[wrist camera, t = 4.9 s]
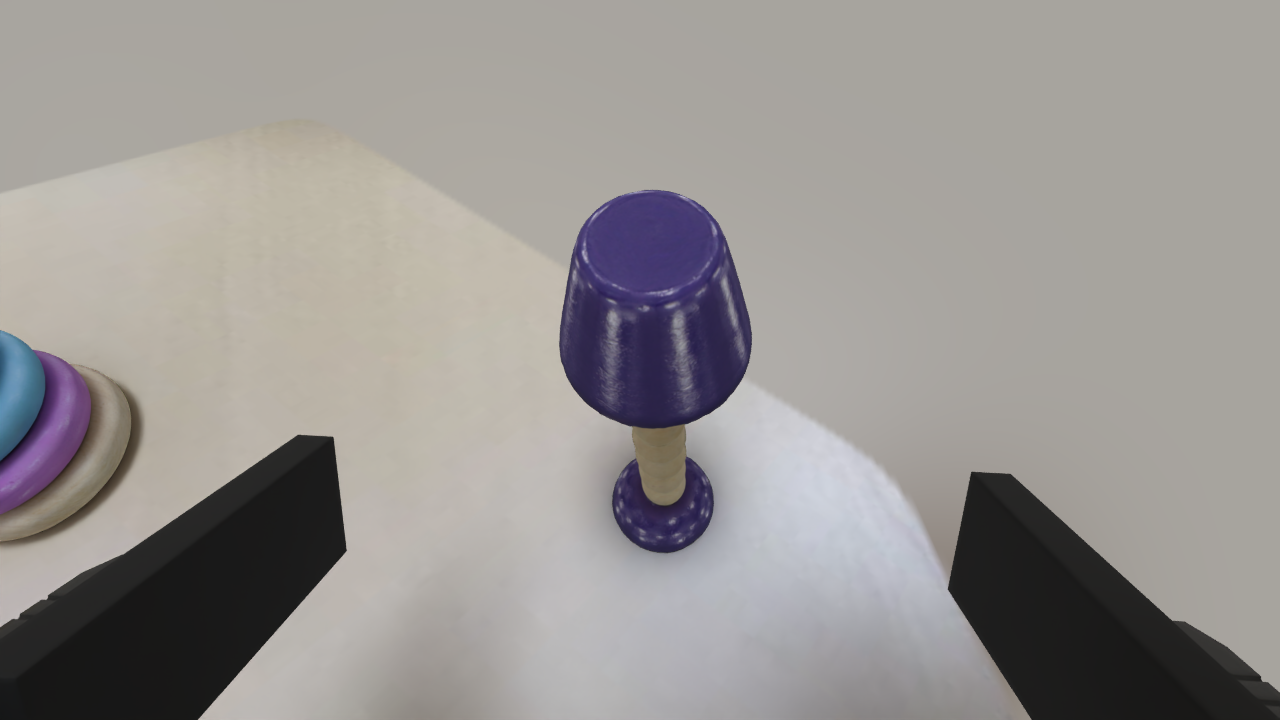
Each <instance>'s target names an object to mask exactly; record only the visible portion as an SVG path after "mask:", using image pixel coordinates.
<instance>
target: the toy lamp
mask: <svg viewBox="0 0 1280 720" xmlns="http://www.w3.org/2000/svg"><path fill="white" fill-rule="evenodd" d="M751 345H752V332H751V326H750V319H749V315H748V311H747V308H746V304H745V301H744V297H743V293H742V290H741V286H740V282H739V279H738V276H737V272H736V269H735V265H734V262H733V259H732V257H731V253H730V250H729V247H728V244H727V241H726V238H725V236H724V234H723V232H722V230H721V228H720V226H719V224H718V222H717V221H716V220H715V219H714V218H713V217H712V215H711V214H709V212H708V211H707V210H706V209H705V208H704V207H702V206H701V205H699V204H698V203H697V202H695V201H693V200H691V199H689V198H687V197H685V196H682V195H680V194H677V193H673V192H669V191H661V190H644V191H637V192H632V193H628V194H625V195H622V196H618V197H616V198H614V199H612V200H611V201H609V202H607V203H605V204H603V205H602V206H601V207H600V208H598V209H597V210H596V211H595V212H594V213H593V214H592V215H591V216H590V217H589V218H588V219H587V221H586V222H585V224H584V225H583V227H582V228H581V230H580V232H579V235H578V237H577V241H576V244H575V247H574V249H573V254H572V258H571V265H570V271H569V276H568V281H567V287H566V294H565V300H564V305H563V311H562V319H561V325H560V342H559V347H560V357H561V362H562V364H563V366H564V370H565V373H566V376H567V378H568V380H569V382H570V383H571V385H572V387H573V388H574V390H575V391H576V392H577V393H578V395H579V396H580V397H581V398H582V399H583V400H584V401H585V402H586V403H587V404H588V405H589V406H590V407H592V408H593V409H595V410H596V411H598V412H599V413H600V414H601V415H604V416H606V417H607V418H609V419H612V420H615V421H617V422H619V423H622V424H625V425H628V426H632V428H633V429H632V437H633V442H634V445H635V448H636V449H635V452H636V459H634V460H633V461H631V462H630V463H629V464H628V465H627V466H626V467H625V469H624V470H623V471H622V472H621V474H620V476H619V478H618V480H617V482H616V484H615V488H614V492H613V501H612V506H613V512H614V516H615V519H616V521H617V523H618V525H619V527H620V528H621V530H622V532H623V533H624V534H625V535H626V536H627V537H628V538H629V539H630V540H631V541H632V542H634V543H635V544H637V545H638V546H640V547H642V548H644V549H646V550H649V551H655V552H666V553H668V552H674V551H677V550H680V549H683V548H684V547H686V546H688V545H690V544H692V543H693V542H694V541H695V540H696V539H697V538H699V537H700V536H701V535H702V534H703V532H704V531H705V529H706V528H707V526H708V525H709V522H710V520H711V517H712V513H713V506H714V501H713V492H712V487H711V485H710V482H709V480H708V478H707V476H706V475H705V473H704V471H703V470H702V469H701V468H700V467H699V466H698V465H697V464H696V463H695V462H694V461H693V460H692V459H690V458H688V457H687V456H686V447H685V441H686V431H685V426H684V425H685V424H689V423H691V422H693V421H696V420H698V419H700V418H701V417H703V416H705V415H707V414H709V413H711V412H712V411H714V410H715V409H717V408H718V407H720V406H721V405H722V404H723V403H724V402H725V401H726V400H727V399H728V397H729V396H730V395H731V394H732V393H733V392H734V391H735V389H736V388H737V386H738V385H739V383H740V382H741V380H742V378H743V376H744V374H745V372H746V369H747V366H748V363H749V359H750V354H751Z"/></svg>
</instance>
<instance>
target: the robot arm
mask: <svg viewBox="0 0 1280 720" xmlns="http://www.w3.org/2000/svg"><path fill="white" fill-rule="evenodd" d="M346 551H347V550H346V541H345V532H344V524H343V515H342V506H341V498H340V489H339V481H338V472H337V463H336V455H335V446H334V438H333V437H327V436H309V435H297V436H296V437H294V438H293V439H291V440H290V441H288V442H287V443H286V444H284V445H283V446H281V447H280V448H278V449H277V450H275V451H274V452H272V453H271V454H269V455H268V456H267V457H265V458H264V459H262V460H261V461H259V462H258V463H256V464H255V465H253V466H252V467H251V468H249V469H248V470H246V471H245V472H243V473H242V474H240V475H239V476H237V477H236V478H234V479H233V480H232V481H230V482H229V483H227V484H226V485H224V486H223V487H221V488H220V489H218V490H217V491H216V492H214V493H213V494H211V495H210V496H208V497H207V498H205V499H204V500H202V501H201V502H199V503H198V504H197V505H195V506H194V507H192V508H191V509H189V510H188V511H186V512H185V513H183V514H182V515H180V516H179V517H178V518H176V519H175V520H173V521H172V522H170V523H169V524H167V525H166V526H164V527H163V528H162V529H160V530H159V531H157V532H156V533H154V534H153V535H151V536H150V537H148V538H147V539H145V540H144V541H143V542H141V543H140V544H138V545H137V546H135V547H134V548H132V549H131V550H129V551H128V552H126V553H125V554H124V555H120V556H118V557H116V558H114V559H111V560H109V561H107V562H105V563H103V564H100V565H98V566H96V567H94V568H91V569H89V570H87V571H85V572H83V573H81V574H79V575H78V576H76V577H75V578H73V579H72V580H70V581H69V582H67V583H66V584H64V585H63V586H61V587H60V588H58V589H57V590H55V591H54V592H52V593H51V594H49V595H48V599H47V600H40V601H39V602H37V603H36V604H34V605H33V606H31V607H30V608H28V609H27V610H25V611H24V612H22V613H21V614H20V617H19V618H18V619H12V620H10V621H9V622H7V623H6V624H5V625H3V626H2V627H0V720H198V719H199V718H200V717H201V716H202V714H203V713H204V712H205V711H206V710H207V709H208V708H209V706H210V705H211V704H212V703H213V702H214V701H215V700H216V699H217V697H218V696H219V695H220V694H221V693H222V692H223V691H224V689H225V688H226V687H227V686H228V685H229V684H230V683H231V682H232V680H233V679H234V678H235V677H236V676H237V675H238V674H239V672H240V671H241V670H242V669H243V668H244V667H245V666H246V665H247V663H248V662H249V661H250V660H251V659H252V658H253V657H254V655H255V654H256V653H257V652H258V651H259V650H260V649H261V647H262V646H263V645H264V644H265V643H266V642H267V641H268V640H269V638H270V637H271V636H272V635H273V634H274V633H275V632H276V630H277V629H278V628H279V627H280V626H281V625H282V624H283V623H284V621H285V620H286V619H287V618H288V617H289V616H290V615H291V613H292V612H293V611H294V610H295V609H296V608H297V607H298V606H299V604H300V603H301V602H302V601H303V600H304V599H305V598H306V596H307V595H308V594H309V593H310V592H311V591H312V590H313V589H314V587H315V586H316V585H317V584H318V583H319V582H320V581H321V579H322V578H323V577H324V576H325V575H326V574H327V573H328V572H329V570H330V569H331V568H332V567H333V566H334V565H335V564H336V562H337V561H338V560H339V559H340V558H341V557H342V556H343V555H344V553H345V552H346ZM948 590H949V592H950V593H951V595H952V597H953V598H954V600H955V601H956V603H957V604H958V606H959V607H960V609H961V611H962V612H963V614H964V615H965V617H966V618H967V620H968V621H969V623H970V625H971V626H972V628H973V629H974V631H975V632H976V634H977V635H978V637H979V639H980V640H981V642H982V643H983V645H984V646H985V648H986V649H987V651H988V652H989V654H990V656H991V657H992V659H993V660H994V662H995V663H996V665H997V666H998V668H999V670H1000V671H1001V673H1002V674H1003V676H1004V677H1005V679H1006V680H1007V682H1008V684H1009V685H1010V687H1011V688H1012V689H1013V691H1014V693H1015V694H1016V696H1017V697H1018V699H1019V701H1020V702H1021V704H1022V705H1023V707H1024V708H1025V710H1026V711H1027V713H1028V715H1029V716H1030V718H1031V719H1032V720H1280V692H1278V691H1277V690H1276V689H1275V688H1274V687H1273V686H1271V685H1270V684H1269V683H1268V682H1262V680H1261V676H1260V675H1259V674H1258V673H1256V672H1255V671H1254V670H1253V669H1252V668H1251V667H1250V666H1248V665H1247V664H1246V663H1245V662H1243V660H1241V659H1240V658H1239V657H1238V656H1237V655H1236V654H1235V653H1233V652H1232V651H1231V650H1230V649H1229V648H1228V647H1226V646H1224V645H1223V644H1221V643H1219V642H1217V641H1216V640H1214V639H1213V638H1211V637H1209V636H1208V635H1206V634H1204V633H1203V632H1201V631H1199V630H1197V629H1196V628H1194V627H1193V626H1191V625H1189V624H1188V623H1186V622H1181V621H1172V620H1171V619H1169V618H1168V617H1167V616H1166V615H1165V614H1164V613H1163V612H1162V611H1161V610H1160V609H1159V608H1157V607H1156V606H1155V605H1154V604H1153V603H1152V602H1151V601H1150V600H1149V599H1148V598H1146V597H1145V596H1144V595H1143V594H1142V593H1141V592H1140V591H1139V590H1137V588H1135V587H1134V586H1133V585H1132V584H1131V583H1130V582H1129V581H1128V580H1127V579H1126V578H1124V577H1123V576H1122V575H1121V574H1120V573H1119V572H1118V571H1117V570H1116V569H1115V568H1113V567H1112V566H1111V565H1110V564H1109V563H1108V562H1107V561H1106V560H1104V558H1102V557H1101V556H1100V555H1099V554H1098V553H1097V552H1096V551H1095V550H1094V549H1093V548H1091V547H1090V546H1089V545H1088V544H1087V543H1086V542H1085V541H1084V540H1083V539H1082V538H1080V537H1079V536H1078V535H1077V534H1076V533H1075V532H1074V531H1073V530H1072V529H1070V528H1069V527H1068V526H1067V525H1066V524H1065V523H1064V522H1063V521H1062V520H1061V519H1059V518H1058V517H1057V516H1056V515H1055V514H1054V513H1053V512H1052V511H1051V510H1049V509H1048V508H1047V507H1046V506H1045V505H1044V504H1043V503H1042V502H1041V501H1040V500H1039V499H1037V498H1036V497H1035V496H1034V495H1033V494H1032V493H1031V492H1030V491H1029V490H1028V489H1026V488H1025V487H1024V486H1023V485H1022V484H1021V483H1020V482H1019V481H1018V480H1016V478H1014V477H1013V476H1012V475H1011V474H1002V473H982V472H971V476H970V481H969V486H968V491H967V496H966V501H965V506H964V511H963V516H962V521H961V527H960V531H959V536H958V541H957V546H956V551H955V556H954V561H953V566H952V571H951V576H950V581H949V586H948Z"/></svg>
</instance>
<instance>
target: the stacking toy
mask: <svg viewBox="0 0 1280 720" xmlns="http://www.w3.org/2000/svg"><path fill="white" fill-rule="evenodd" d="M130 431H131V413H130V408H129V405H128V402H127V399H126V397H125V395H124V394H123V392H122V391H121V389H120V388H119V387H118V385H117V384H116V383H114V382H113V381H112V380H111V379H110V378H108V377H107V376H105V375H104V374H102V373H100V372H98V371H96V370H94V369H91V368H88V367H84V366H80V365H74V364H69V363H67V362H66V361H64V360H62V359H60V358H59V357H56V356H54V355H51V354H49V353H46V352H42V351H37V350H32V349H31V348H30V347H29V346H28V345H27V344H26V343H24V342H23V341H22V340H20V339H19V338H17V337H15V336H13V335H11V334H9V333H7V332H4V331H1V330H0V541H8V540H14V539H19V538H24V537H27V536H30V535H33V534H36V533H38V532H41V531H44V530H46V529H48V528H50V527H52V526H54V525H56V524H58V523H59V522H61V521H63V520H65V519H66V518H68V517H69V516H71V515H72V514H74V513H75V512H76V511H78V510H79V509H80V508H81V507H83V506H84V505H85V504H86V503H87V502H89V501H90V500H91V499H92V498H93V497H94V496H95V495H96V494H97V493H98V492H99V491H100V490H101V488H102V487H103V486H104V485H105V484H106V483H107V481H108V480H109V479H110V477H111V476H112V475H113V473H114V471H115V470H116V468H117V467H118V465H119V463H120V461H121V459H122V457H123V455H124V453H125V450H126V448H127V444H128V441H129V437H130Z"/></svg>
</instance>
